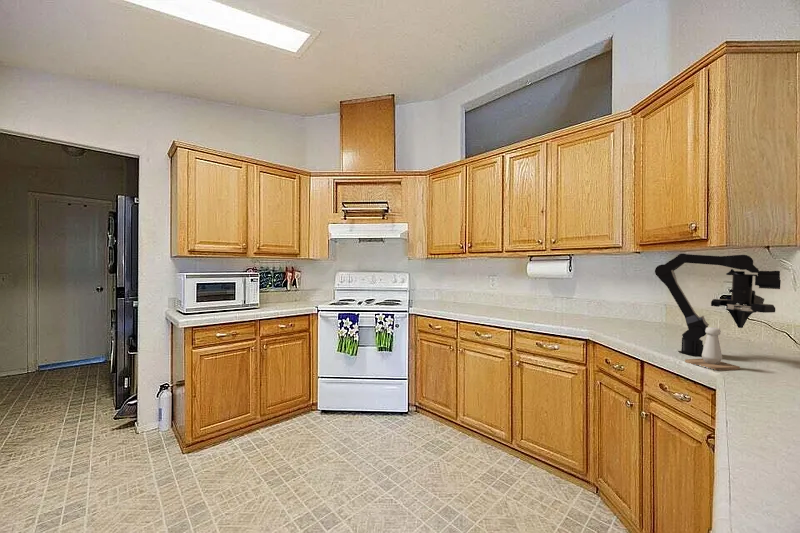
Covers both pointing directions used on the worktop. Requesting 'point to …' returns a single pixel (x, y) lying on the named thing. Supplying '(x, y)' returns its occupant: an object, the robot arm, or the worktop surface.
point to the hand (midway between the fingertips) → (740, 327)
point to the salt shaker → (712, 346)
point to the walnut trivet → (713, 366)
